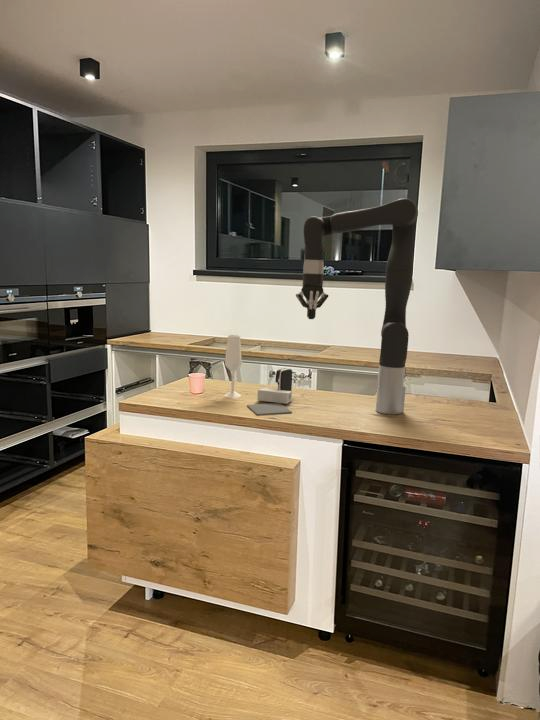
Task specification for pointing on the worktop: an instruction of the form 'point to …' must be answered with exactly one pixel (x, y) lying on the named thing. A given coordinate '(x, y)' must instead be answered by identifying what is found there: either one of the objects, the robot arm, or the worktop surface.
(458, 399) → the worktop surface
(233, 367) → the champagne flute
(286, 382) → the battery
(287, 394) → the skincare box
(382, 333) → the robot arm
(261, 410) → the mat
